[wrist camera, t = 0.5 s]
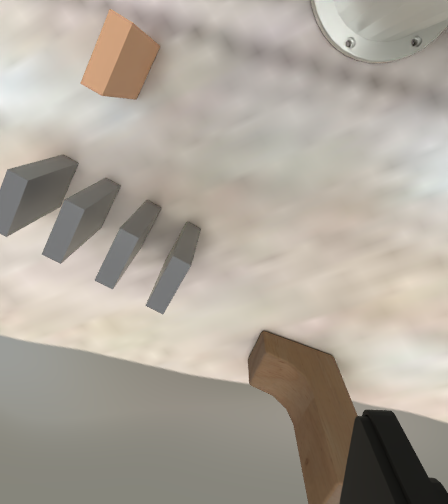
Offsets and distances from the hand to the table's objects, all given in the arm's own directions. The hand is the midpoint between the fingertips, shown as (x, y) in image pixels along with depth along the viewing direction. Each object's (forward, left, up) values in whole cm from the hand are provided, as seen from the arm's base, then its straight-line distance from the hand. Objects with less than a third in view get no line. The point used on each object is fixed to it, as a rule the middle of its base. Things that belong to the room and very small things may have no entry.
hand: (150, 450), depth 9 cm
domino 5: (+7, 0, -32) cm, 32 cm away
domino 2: (+7, -9, -32) cm, 34 cm away
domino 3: (-6, -11, -32) cm, 34 cm away
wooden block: (+13, +17, -32) cm, 38 cm away
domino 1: (+7, -13, -32) cm, 35 cm away
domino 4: (+7, -4, -32) cm, 33 cm away
